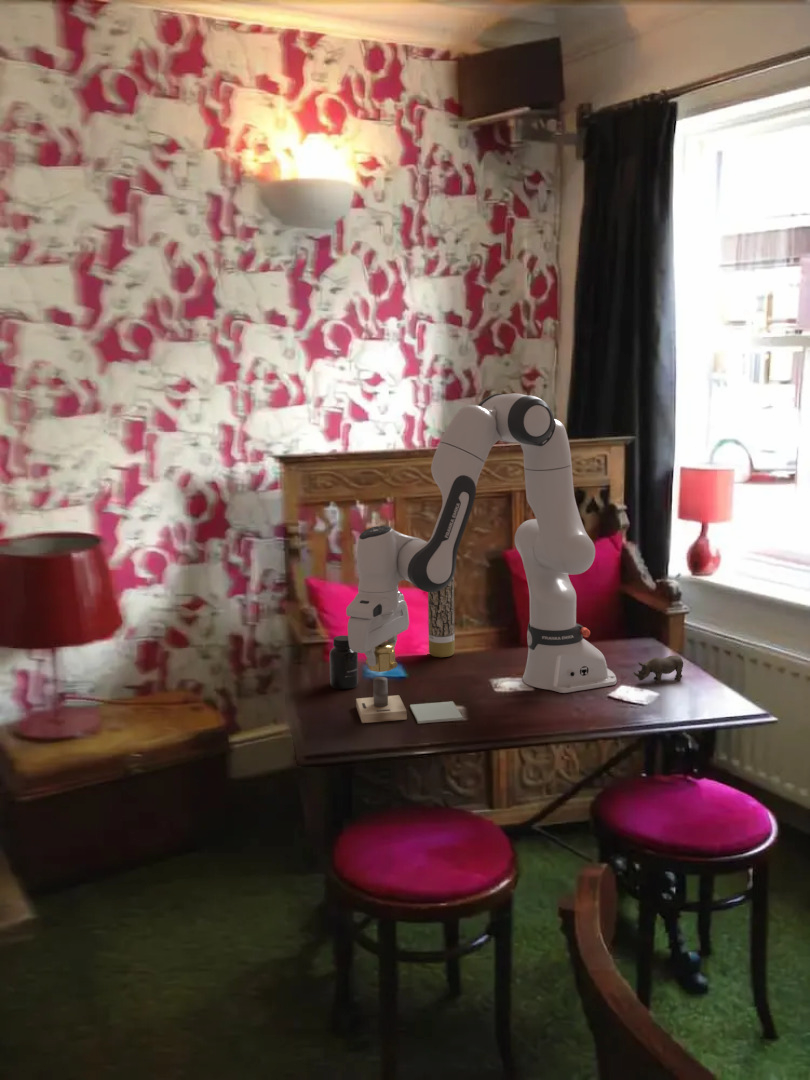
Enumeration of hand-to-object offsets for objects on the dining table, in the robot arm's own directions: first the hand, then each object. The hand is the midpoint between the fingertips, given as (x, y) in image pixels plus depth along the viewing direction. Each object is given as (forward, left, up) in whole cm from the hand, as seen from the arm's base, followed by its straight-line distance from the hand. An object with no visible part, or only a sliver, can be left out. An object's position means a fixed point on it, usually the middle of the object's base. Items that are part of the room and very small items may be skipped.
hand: (381, 660), depth 226 cm
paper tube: (-22, -38, -13) cm, 45 cm away
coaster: (-12, +3, -12) cm, 17 cm away
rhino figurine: (-68, -6, -13) cm, 70 cm away
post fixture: (0, 0, -12) cm, 12 cm away
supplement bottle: (+6, -20, -13) cm, 24 cm away
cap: (0, 0, -2) cm, 2 cm away
